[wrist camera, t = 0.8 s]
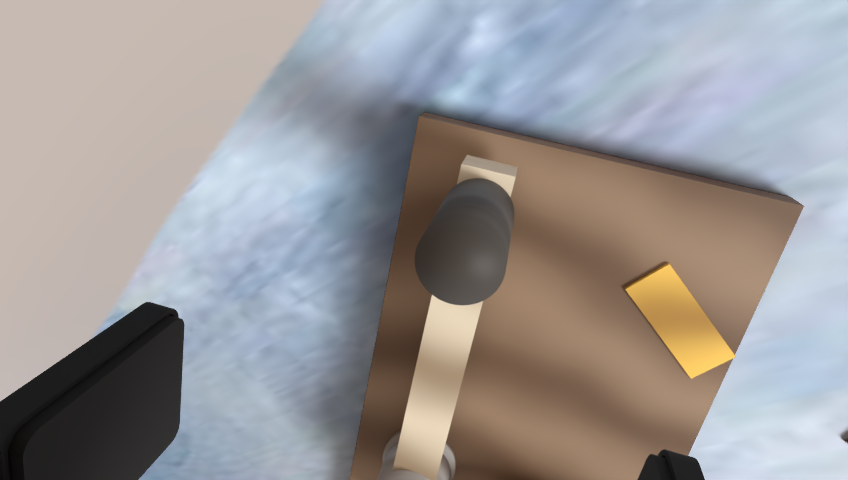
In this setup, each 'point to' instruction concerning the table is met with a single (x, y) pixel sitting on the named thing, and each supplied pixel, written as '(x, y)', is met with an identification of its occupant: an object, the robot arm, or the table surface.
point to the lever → (452, 309)
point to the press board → (577, 309)
